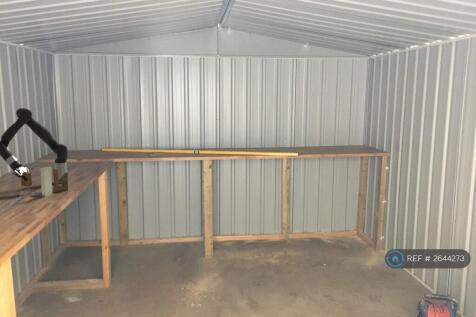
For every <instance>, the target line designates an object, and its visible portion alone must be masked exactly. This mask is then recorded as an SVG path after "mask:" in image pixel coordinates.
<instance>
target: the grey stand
mask: <svg viewBox="0 0 476 317" xmlns="http://www.w3.org/2000/svg"><path fill="white" fill-rule="evenodd" d="M52 170H53V167H52V166H46V167H45V166H44V167H42V168H39V169H38V171H40V185H41V186H40V189H41V191H34V192H33V193H31V194H29V197H38V198H46V197H49V196H51V195H53V194H54V193H53V184H52V183H53V182H52V178H53V177H52Z"/></svg>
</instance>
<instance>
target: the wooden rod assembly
mask: <svg viewBox="0 0 476 317" xmlns="http://www.w3.org/2000/svg"><path fill="white" fill-rule="evenodd" d="M52 175H53V177H52V178H53V186H52V192H54V193H58V192H65V191H68V190H69V179H68V178H69V175H68V172H67V173H66V172H65V173H64V174H63V176H62V177H61V178H60V179H59V180H58V169H55V168H52ZM60 182H62V183H60ZM60 184H61V185H60Z"/></svg>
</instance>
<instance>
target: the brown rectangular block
mask: <svg viewBox="0 0 476 317" xmlns="http://www.w3.org/2000/svg"><path fill="white" fill-rule="evenodd" d="M23 175H24V176H25V177H26V178H27V181H24V180H23V179H22V178H21V177H20V183H21V184H20V185H21V187H31V186H33V184H32V182H33V180H32V179H31V178H32V172H30V171H29V172H23Z"/></svg>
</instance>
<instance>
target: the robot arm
mask: <svg viewBox="0 0 476 317" xmlns="http://www.w3.org/2000/svg"><path fill="white" fill-rule="evenodd" d="M15 116H16V117H17V119H16V121H14V122H13V124H11V125H10V126H9V127H8V128H7V129H6V130H5V131H4V133H3V134H2V135H1V137H0V156H1V158H2V160H4V161H5V163H6V164H7V165H8V167H9V168H10V169H11V170H12V171H13V172H12V174H13V175H15V176H16V177H17V178H20V179H21V178H22V179H23V180H24V181H27V178H26V177H25V176H24V175H23V172H30V170H29V168H28V167H24V166H23V164H22V163H21V161H20V160H19V159H18V158H17V157H16V156H15V155H14V154H13V153H12V152H11V151H9V149H8V147H9V144H10V142H11V141H13V138H14V137H15V136H16V134H18V132H19V131H20V129H22V128H23V126H24V125H26V126H28V127H29V129H30V130H31V131H32V132H33V133H34V134H35V135H36V136H37V137H38V138H39V139H41V141H43V143H45V144H46V145H47V147H49V149H50V150H51V151H52V153H54V154H55V155H57V156H56V158H55V159H54V169H58V180H59V179H60V178H61V177H62V176H63V174H64V173H65V172H66V173H68V169H67V168H68V166H67V164H68V163H67V160H68V147H67V145H65V144H62V143H60V142H58V141H57V140H55V139H54V137H53V135H52V134H51V132H50V130H49V129H48V128H47V127H46V126H44V125H43V124H42V123H41V122H39V121H37V120H36V119H35V118H33V112H32V110H30V109H29V108H24V107H21V108H18V109H17V110H16V112H15ZM31 179H32V177H31ZM59 184H62V182H60V183H59Z"/></svg>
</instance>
